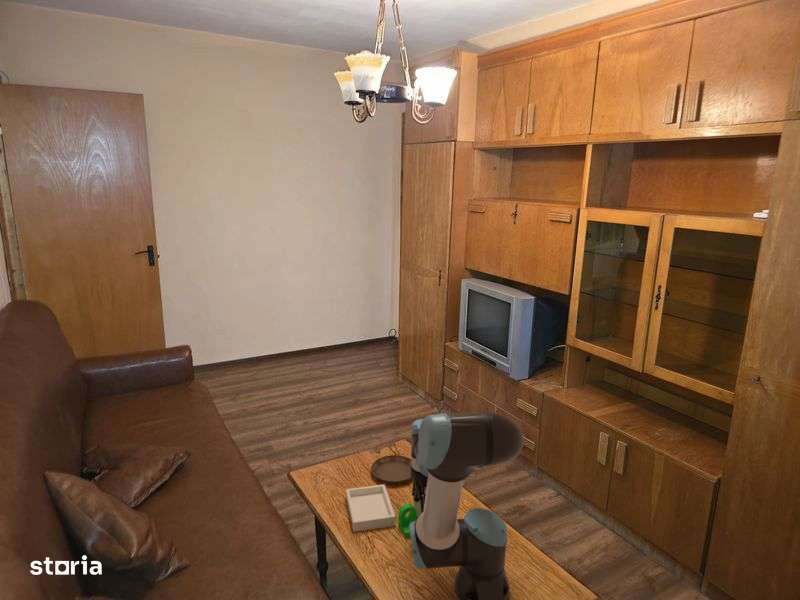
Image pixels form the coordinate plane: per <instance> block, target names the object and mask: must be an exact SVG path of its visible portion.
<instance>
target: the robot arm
mask: <svg viewBox="0 0 800 600" xmlns="http://www.w3.org/2000/svg"><path fill="white" fill-rule="evenodd" d="M410 433H411V435H410V437H411V442H410V443H411V450H410V451H411V452H410V459H411V480H412V487H411V496H412V497H413V498H412V499H413V507H414V508H415V509H416V517H417V516H419V517H418V519H417V521H414V522H411V523H410V524H409V530H410V537H409V538H410V545H411V551H412V552H411V553H412V561H413V565H414V567H415V568H416V569H419V570H420V569H425V570H430V569H440V568H443V569H444V568H452V567H459V568H458V570H457V573H456V575H455V578H454V591H455V594H456V596H457V597H458V599H459V600H509V597H510V596H509V595H510V582H509V579H508V577H507V572H506V570H505V569H506V568H505V564H506V554H507V543H508V528H507V525H506V523H505V521H504V519H503V518H502V517H501V516H500V515H498V514H497V513H495V512H494V511H491V510H490V509H487V508H481V507H479V508H478V507H476V508H471V509H469V510H468V511H466V512H465V514H464V516H463V518H458V513H459V508H460V507H459V506H460V504H461V503H460V502H461V497H462V491H463V488H464V483H465V482H464V481H465V480H466V479H467V478H469V477H470V475H471V473H472V472H473V470H474V469H482V468H487V467H490V466H494V465H496V466H497V465H500V464H504V463H508V462H510V461H513V460H514V459H515V458H517V457H518V456H519V455H520V453H521V452H522V450H523V447H524V435H523V432H522V430H521V428H520V426H519V425H518V424H517V423H516V422H515V421H514V420H513V419H512V418H510V417H509V416H507V415H504V414H502V413H499V412H496V411H495V412H494V411H484V412H460V413H457V412H455V413H445V412H440V413H436V414H428V415H426V416H425V417H424V418H419V419H416V420H414V421H412V424H411V431H410Z"/></svg>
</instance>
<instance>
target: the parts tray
mask: <svg viewBox="0 0 800 600" xmlns="http://www.w3.org/2000/svg"><path fill="white" fill-rule="evenodd" d="M345 498H346V499H345V500H346V504H347V508H348V509H347V510H348V513H349V518H350V522H351V528H352V532H353V533H354V532H360V531H367V530H368V531H369V530H376V529H382V528H388V527H395V526H396V514H395V511H394V508H393V506H392V505H393V504H392V502H391V499H390V496H389V493H388V491H387V487H386V483H384V484H378V485H368V486H362V487H361V486H360V487H354V488H346V489H345Z"/></svg>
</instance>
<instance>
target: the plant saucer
mask: <svg viewBox="0 0 800 600" xmlns="http://www.w3.org/2000/svg"><path fill="white" fill-rule="evenodd" d="M370 472H371V474H372V475H373V477H374V478H376V479H377V480H378V481H380V482H382V483H384V484H388V485H400V484H404V483H406V482H408V481H409V480H412V478H411V457H407V456H404V455H399V454H391V455H390V454H389V455H385V456H382V457H379V458H377V459H376V460H375V461H374V462H373V463H372V464H371V466H370Z"/></svg>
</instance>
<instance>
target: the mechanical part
mask: <svg viewBox="0 0 800 600" xmlns="http://www.w3.org/2000/svg"><path fill="white" fill-rule="evenodd" d="M418 517H419V516H417V517H416V509H415V508H414V504H412V503H406V504H403V505H402V506H401V507H400V509H399V510H398V528H399V530H400V532H401V533H402V535H403V537H405V539H408V538H410V530H409V524H410V523H411V522H414V521H417V519H418Z"/></svg>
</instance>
